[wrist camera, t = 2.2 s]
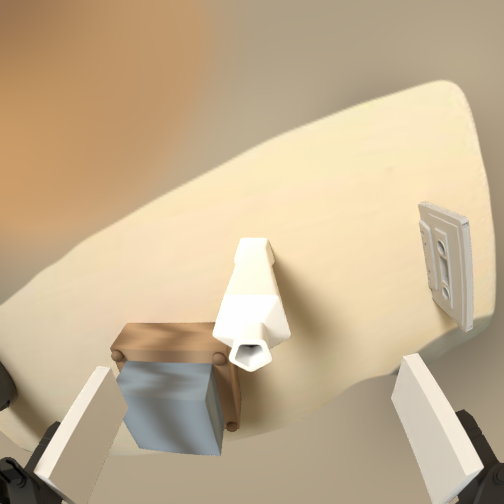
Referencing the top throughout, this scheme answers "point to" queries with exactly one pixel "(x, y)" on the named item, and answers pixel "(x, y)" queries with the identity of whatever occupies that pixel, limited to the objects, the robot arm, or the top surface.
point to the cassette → (448, 261)
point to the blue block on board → (177, 386)
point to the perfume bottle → (252, 307)
